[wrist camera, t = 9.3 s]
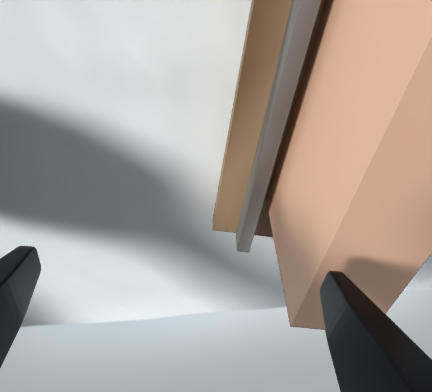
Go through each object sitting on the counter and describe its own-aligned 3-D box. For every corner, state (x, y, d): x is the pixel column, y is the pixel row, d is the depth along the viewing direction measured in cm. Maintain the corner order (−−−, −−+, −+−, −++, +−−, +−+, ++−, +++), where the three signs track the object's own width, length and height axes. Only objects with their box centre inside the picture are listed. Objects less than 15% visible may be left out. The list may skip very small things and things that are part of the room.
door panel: (266, 201, 21) (290, 326, 14) (346, -71, 13) (505, -115, 6) (319, 208, 21) (369, 334, 14) (430, -55, 13) (681, -78, 6)
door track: (212, 219, 24) (211, 248, 21) (285, -186, 12) (301, -224, 10) (343, 234, 24) (356, 264, 22) (529, -133, 13) (601, -157, 10)
